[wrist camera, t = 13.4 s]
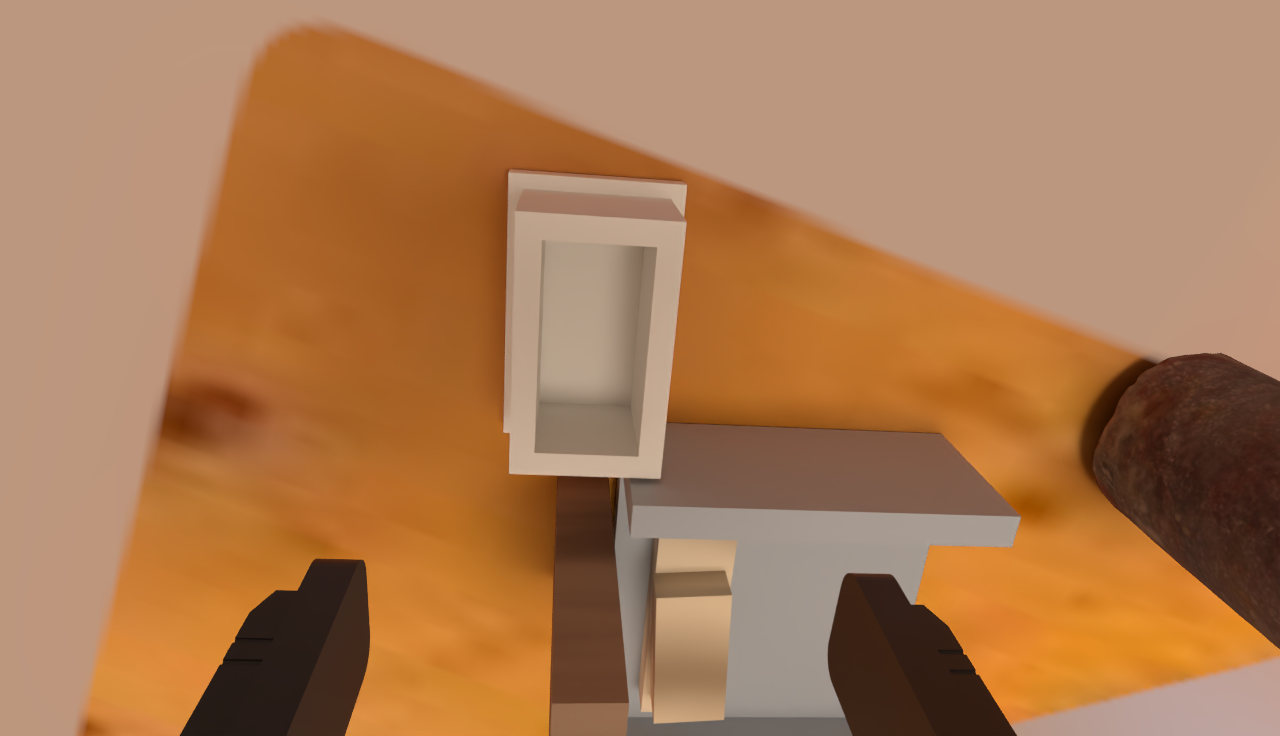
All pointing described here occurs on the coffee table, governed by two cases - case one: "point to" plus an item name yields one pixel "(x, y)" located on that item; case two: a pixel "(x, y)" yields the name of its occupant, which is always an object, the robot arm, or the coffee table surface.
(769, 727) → the rack
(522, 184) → the holder
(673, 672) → the offcut short
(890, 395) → the coffee table surface
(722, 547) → the block
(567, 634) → the slat
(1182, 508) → the brown log
